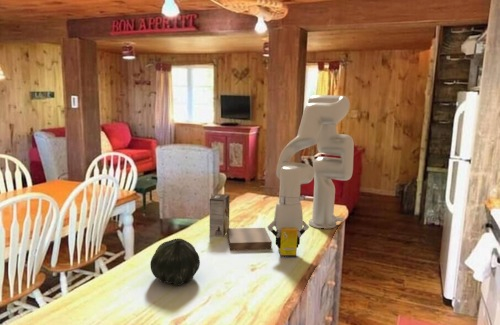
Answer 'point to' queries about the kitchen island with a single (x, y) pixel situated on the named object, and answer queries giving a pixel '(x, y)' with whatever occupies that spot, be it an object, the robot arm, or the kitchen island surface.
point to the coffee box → (219, 215)
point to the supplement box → (288, 242)
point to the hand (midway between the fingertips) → (287, 246)
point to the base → (248, 239)
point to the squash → (175, 262)
